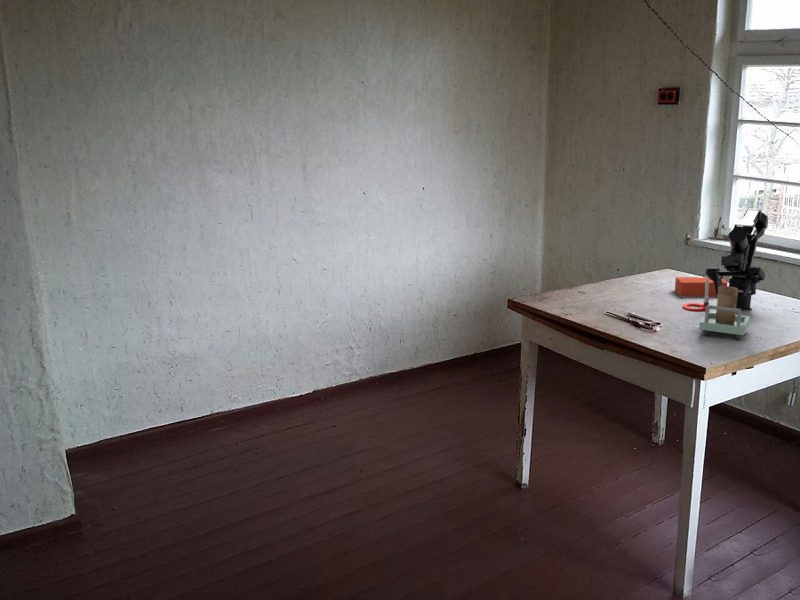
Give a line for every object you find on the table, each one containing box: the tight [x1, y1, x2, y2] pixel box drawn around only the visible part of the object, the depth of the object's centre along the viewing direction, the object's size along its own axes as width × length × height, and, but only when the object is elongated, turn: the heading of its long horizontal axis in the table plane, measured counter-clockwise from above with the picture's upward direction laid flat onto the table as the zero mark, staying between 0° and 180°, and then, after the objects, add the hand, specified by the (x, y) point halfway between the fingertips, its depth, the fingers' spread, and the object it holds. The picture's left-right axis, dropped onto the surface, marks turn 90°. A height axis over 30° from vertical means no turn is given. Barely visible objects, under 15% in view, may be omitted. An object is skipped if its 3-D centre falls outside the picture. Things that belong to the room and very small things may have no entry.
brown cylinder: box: [715, 285, 738, 325], centre depth 258 cm, size 6×6×12 cm
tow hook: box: [682, 275, 711, 312], centre depth 288 cm, size 8×13×9 cm
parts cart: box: [698, 304, 751, 341], centre depth 259 cm, size 14×14×11 cm
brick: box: [674, 276, 728, 297], centre depth 308 cm, size 18×9×6 cm, turn 86°
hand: (730, 295), depth 264 cm, fingers open, 9 cm apart
